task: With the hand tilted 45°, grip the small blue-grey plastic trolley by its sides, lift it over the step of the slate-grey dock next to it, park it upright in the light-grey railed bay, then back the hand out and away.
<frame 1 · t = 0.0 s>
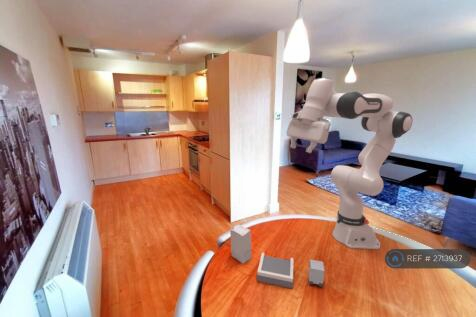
hand: (300, 150, 87), 52 cm above the table, tool tilted 20°, fingers open, 8 cm apart
skincare box: (240, 257, 101), on the table
trolley: (315, 281, 87), on the table
dock: (275, 273, 91), on the table
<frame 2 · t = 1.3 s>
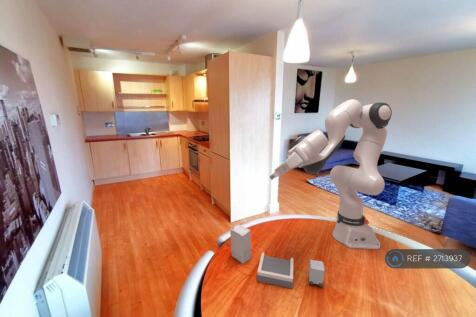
hand: (272, 177, 89), 40 cm above the table, tool tilted 55°, fingers open, 8 cm apart
nothing on the table moved.
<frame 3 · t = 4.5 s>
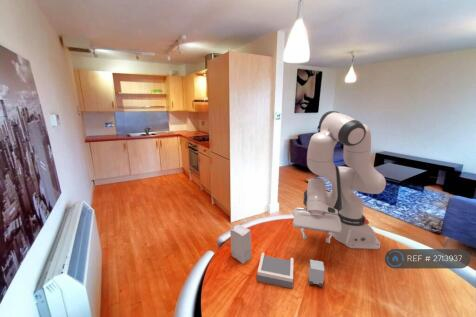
hand: (316, 241, 91), 13 cm above the table, tool tilted 45°, fingers open, 8 cm apart
nothing on the table moved.
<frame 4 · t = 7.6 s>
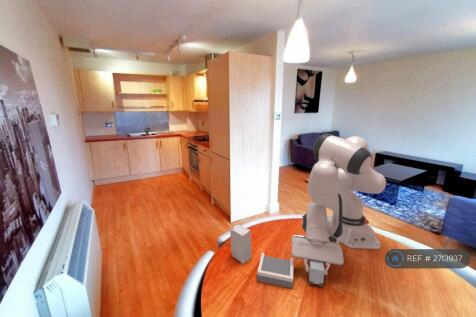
hand: (316, 273, 85), 5 cm above the table, tool tilted 45°, fingers closed on trolley, 5 cm apart
trolley: (315, 281, 87), on the table, touching gripper
everything else where it was.
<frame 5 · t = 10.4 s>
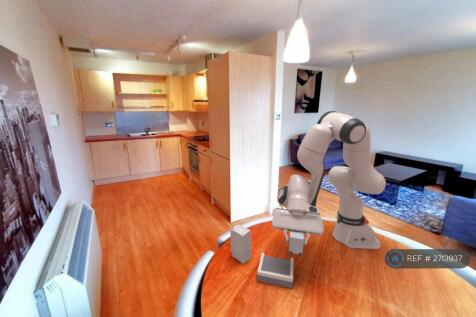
hand: (296, 243, 83), 17 cm above the table, tool tilted 45°, fingers closed on trolley, 5 cm apart
trolley: (295, 252, 85), point 13 cm above the table, touching gripper
everything else where it was.
when the fingers open (9 cm above the table, at t = 13.2 s): trolley drops 1 cm, resting on dock.
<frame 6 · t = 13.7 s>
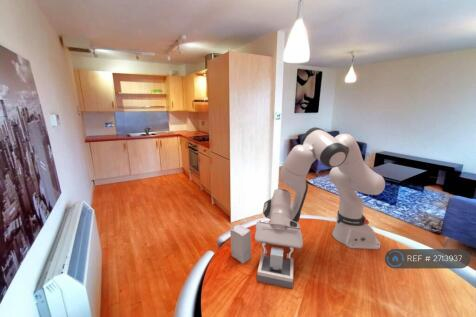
hand: (276, 256, 88), 9 cm above the table, tool tilted 45°, fingers open, 8 cm apart
trolley: (276, 267, 90), point 3 cm above the table, touching dock
everything else where it was.
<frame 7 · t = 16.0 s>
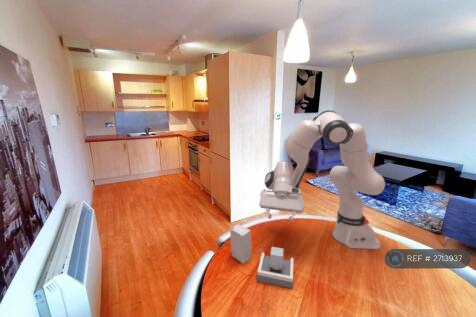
hand: (279, 219, 95), 20 cm above the table, tool tilted 45°, fingers open, 8 cm apart
nothing on the table moved.
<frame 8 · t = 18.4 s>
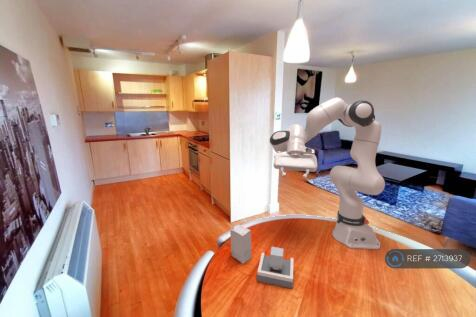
hand: (294, 177, 98), 37 cm above the table, tool tilted 45°, fingers open, 8 cm apart
nothing on the table moved.
at the end: trolley inside the target area on the dock (0.0 cm from its centre), point 3.0 cm above the dock's base; trolley tilted 0°; the gripper is holding nothing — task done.
